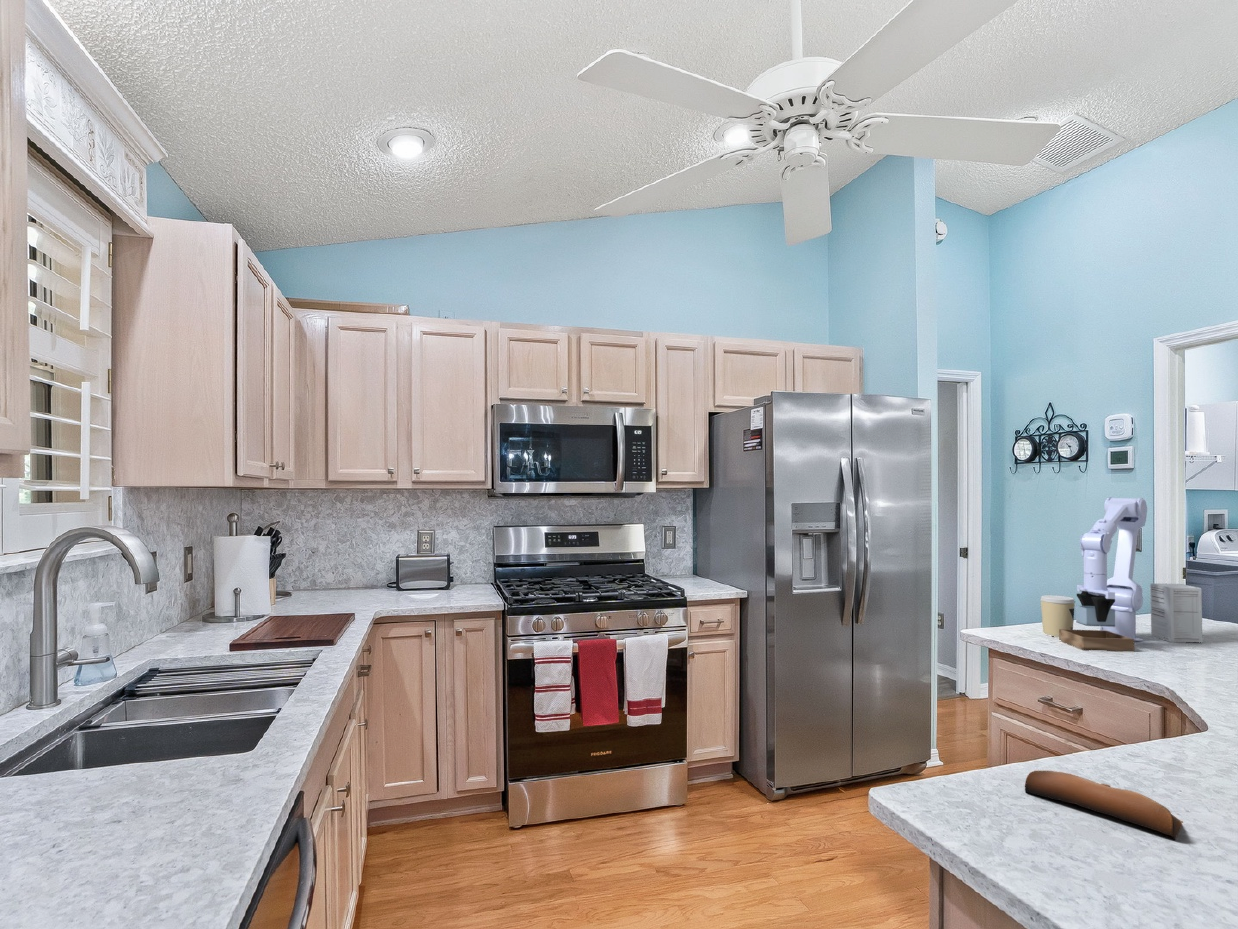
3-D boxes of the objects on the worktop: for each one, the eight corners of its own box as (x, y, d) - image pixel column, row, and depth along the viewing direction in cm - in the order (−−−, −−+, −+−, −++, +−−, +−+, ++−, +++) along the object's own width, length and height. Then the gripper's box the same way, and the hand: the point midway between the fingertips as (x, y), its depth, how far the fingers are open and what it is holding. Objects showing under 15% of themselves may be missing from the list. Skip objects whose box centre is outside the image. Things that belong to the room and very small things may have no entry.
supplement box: (1182, 636, 217) (1181, 583, 217) (1203, 643, 208) (1203, 587, 208) (1149, 635, 218) (1149, 582, 218) (1170, 642, 209) (1169, 586, 209)
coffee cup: (1079, 640, 210) (1079, 600, 210) (1044, 637, 213) (1044, 598, 213) (1070, 633, 219) (1070, 596, 219) (1036, 631, 222) (1036, 594, 222)
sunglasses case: (1188, 821, 95) (1182, 786, 93) (1179, 862, 91) (1173, 827, 89) (1042, 778, 109) (1035, 746, 106) (1029, 812, 104) (1020, 780, 102)
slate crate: (1076, 622, 205) (1076, 605, 205) (1104, 623, 204) (1104, 606, 204) (1086, 625, 200) (1086, 608, 200) (1115, 626, 199) (1115, 609, 199)
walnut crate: (1059, 640, 208) (1059, 629, 208) (1107, 642, 207) (1107, 630, 207) (1083, 650, 196) (1083, 638, 196) (1134, 651, 195) (1134, 639, 195)
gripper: (1066, 570, 210) (1066, 614, 209) (1096, 576, 195) (1096, 624, 195) (1090, 570, 209) (1090, 615, 209) (1122, 577, 195) (1122, 625, 195)
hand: (1095, 619), depth 202 cm, fingers closed on slate crate, 5 cm apart
